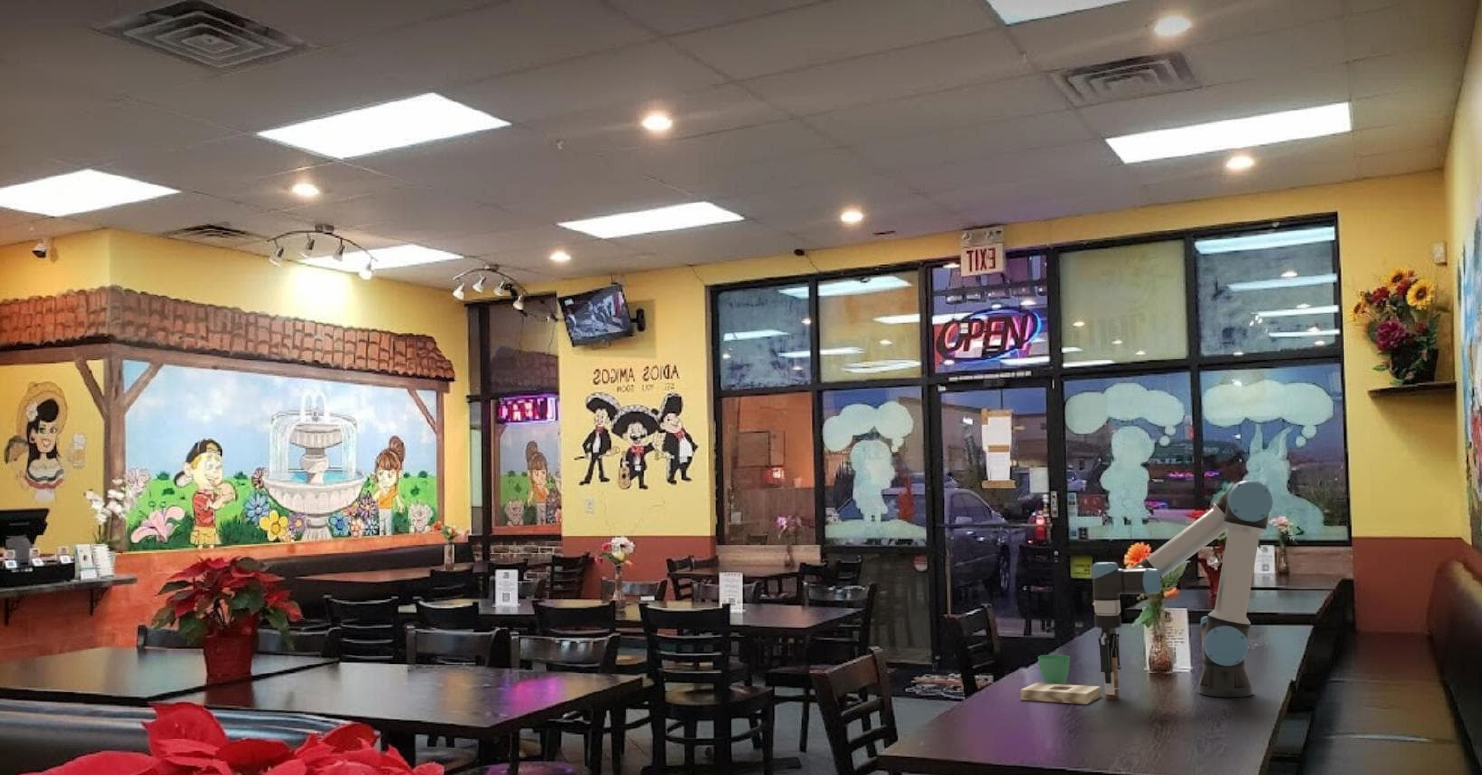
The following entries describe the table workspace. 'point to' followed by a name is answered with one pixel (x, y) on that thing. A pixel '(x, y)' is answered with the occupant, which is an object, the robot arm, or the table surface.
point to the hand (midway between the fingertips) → (1112, 692)
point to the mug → (1054, 668)
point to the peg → (1116, 683)
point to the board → (1061, 693)
